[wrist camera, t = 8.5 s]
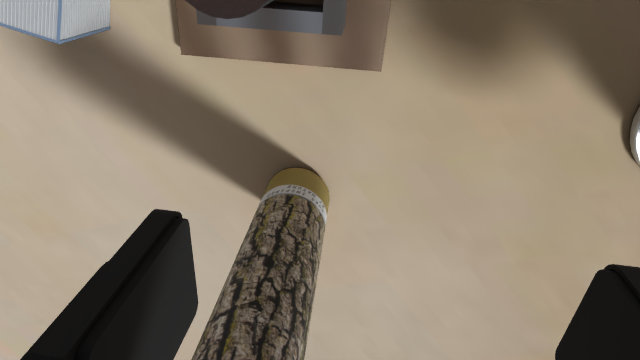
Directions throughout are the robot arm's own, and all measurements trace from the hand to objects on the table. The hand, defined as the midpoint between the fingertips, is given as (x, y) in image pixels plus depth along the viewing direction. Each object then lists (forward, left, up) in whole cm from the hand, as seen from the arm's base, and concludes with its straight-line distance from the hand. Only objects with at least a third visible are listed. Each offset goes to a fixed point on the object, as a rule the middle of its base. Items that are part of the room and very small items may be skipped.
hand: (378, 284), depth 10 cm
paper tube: (+6, +16, -30) cm, 35 cm away
